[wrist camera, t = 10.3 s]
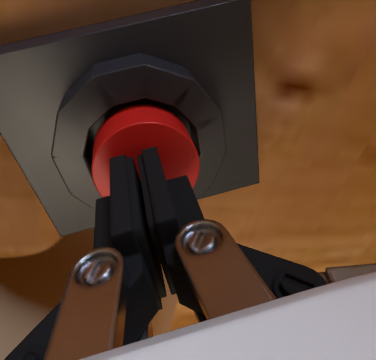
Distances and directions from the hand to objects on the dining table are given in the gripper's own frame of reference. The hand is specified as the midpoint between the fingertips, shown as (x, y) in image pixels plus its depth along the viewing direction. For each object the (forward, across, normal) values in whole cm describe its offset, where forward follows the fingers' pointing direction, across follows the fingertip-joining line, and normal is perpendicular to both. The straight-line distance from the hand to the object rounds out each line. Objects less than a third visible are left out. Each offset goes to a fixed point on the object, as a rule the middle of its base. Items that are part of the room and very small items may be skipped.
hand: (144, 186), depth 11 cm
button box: (+6, 0, 0) cm, 6 cm away
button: (+2, 0, 0) cm, 2 cm away
